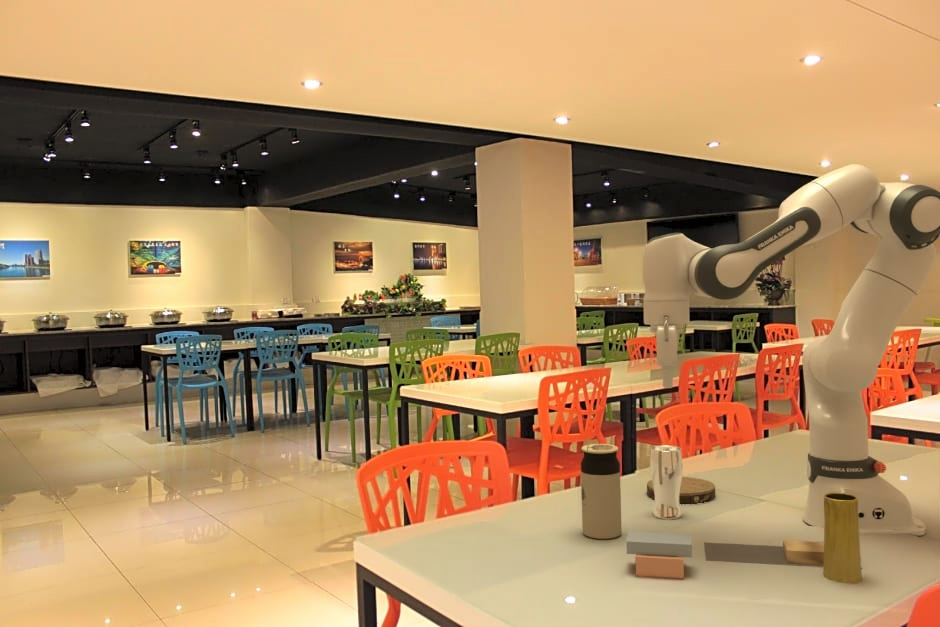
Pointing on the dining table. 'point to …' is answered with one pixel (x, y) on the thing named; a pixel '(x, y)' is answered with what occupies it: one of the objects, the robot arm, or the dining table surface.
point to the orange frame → (659, 566)
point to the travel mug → (601, 491)
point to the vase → (841, 538)
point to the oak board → (803, 552)
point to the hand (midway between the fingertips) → (668, 384)
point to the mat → (748, 554)
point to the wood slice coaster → (690, 491)
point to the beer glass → (666, 480)
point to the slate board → (659, 544)
